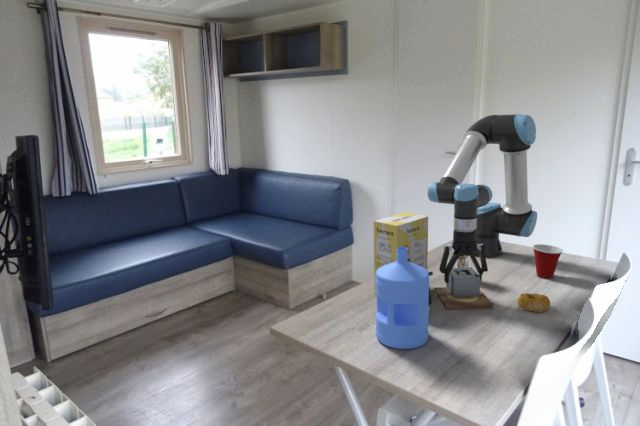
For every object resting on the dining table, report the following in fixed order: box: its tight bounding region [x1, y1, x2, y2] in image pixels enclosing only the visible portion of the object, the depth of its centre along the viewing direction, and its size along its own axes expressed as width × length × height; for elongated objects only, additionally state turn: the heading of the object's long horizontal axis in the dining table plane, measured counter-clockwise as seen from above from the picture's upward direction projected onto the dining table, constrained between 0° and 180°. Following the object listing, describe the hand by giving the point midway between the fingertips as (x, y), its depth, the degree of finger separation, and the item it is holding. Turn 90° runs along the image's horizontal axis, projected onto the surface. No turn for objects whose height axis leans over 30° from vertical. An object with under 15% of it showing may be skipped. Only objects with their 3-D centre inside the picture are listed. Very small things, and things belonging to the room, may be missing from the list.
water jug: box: [375, 247, 430, 350], centre depth 131 cm, size 16×16×28 cm
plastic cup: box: [532, 243, 564, 280], centre depth 175 cm, size 11×11×12 cm
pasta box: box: [373, 211, 429, 295], centre depth 165 cm, size 18×10×28 cm, turn 131°
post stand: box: [433, 272, 494, 311], centre depth 157 cm, size 16×16×10 cm
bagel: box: [517, 292, 551, 313], centre depth 151 cm, size 10×11×5 cm
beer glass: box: [453, 249, 473, 268], centre depth 175 cm, size 7×7×15 cm
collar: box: [445, 266, 481, 297], centre depth 157 cm, size 9×9×7 cm
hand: (462, 290), depth 158 cm, fingers closed on collar, 9 cm apart
